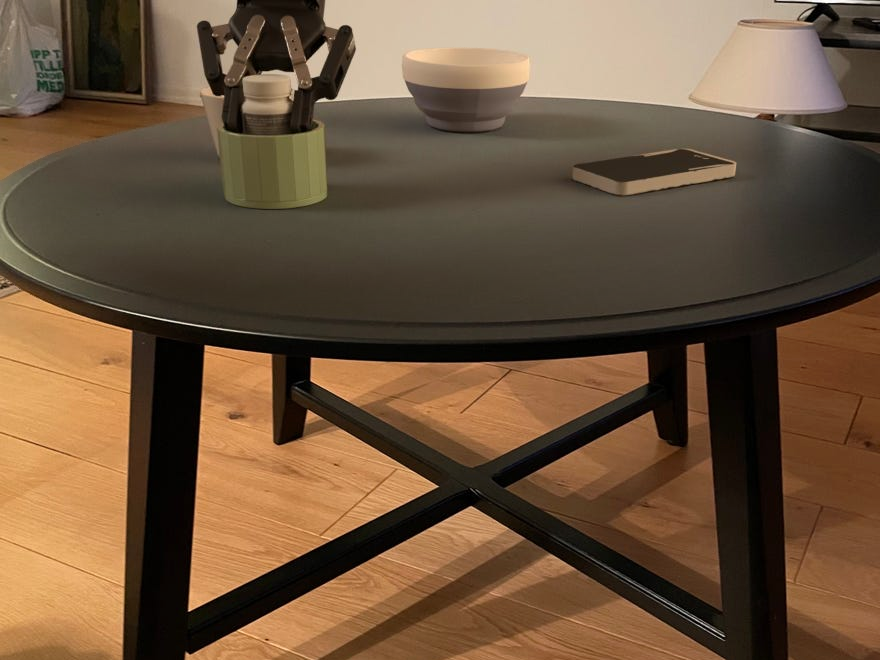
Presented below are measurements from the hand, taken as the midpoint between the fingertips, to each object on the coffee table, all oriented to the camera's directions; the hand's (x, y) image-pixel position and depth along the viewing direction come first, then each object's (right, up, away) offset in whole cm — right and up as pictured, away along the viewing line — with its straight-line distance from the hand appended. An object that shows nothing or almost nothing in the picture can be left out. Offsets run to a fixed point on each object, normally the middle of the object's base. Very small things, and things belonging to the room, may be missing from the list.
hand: (265, 134), depth 87 cm
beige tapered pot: (-5, +3, +17) cm, 18 cm away
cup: (0, -4, +4) cm, 6 cm away
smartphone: (+35, 0, +13) cm, 37 cm away
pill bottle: (0, -3, +4) cm, 5 cm away
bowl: (+16, +11, +33) cm, 38 cm away
